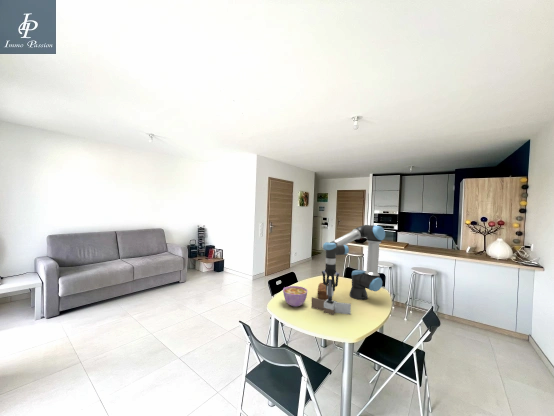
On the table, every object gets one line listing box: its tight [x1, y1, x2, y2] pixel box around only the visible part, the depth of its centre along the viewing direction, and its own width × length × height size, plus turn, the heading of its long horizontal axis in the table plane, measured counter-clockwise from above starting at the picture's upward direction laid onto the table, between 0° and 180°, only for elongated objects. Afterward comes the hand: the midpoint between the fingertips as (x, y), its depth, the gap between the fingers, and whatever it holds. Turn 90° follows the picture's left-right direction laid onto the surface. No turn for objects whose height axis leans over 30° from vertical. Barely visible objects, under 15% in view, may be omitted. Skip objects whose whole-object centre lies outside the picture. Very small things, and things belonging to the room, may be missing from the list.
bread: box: [317, 282, 328, 300], centre depth 192 cm, size 19×11×10 cm, turn 164°
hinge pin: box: [328, 278, 333, 301], centre depth 162 cm, size 3×3×15 cm
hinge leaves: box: [311, 297, 352, 316], centre depth 162 cm, size 9×29×8 cm, turn 58°
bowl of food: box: [282, 285, 309, 308], centre depth 174 cm, size 20×20×12 cm
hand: (330, 294), depth 162 cm, fingers closed on hinge pin, 3 cm apart
